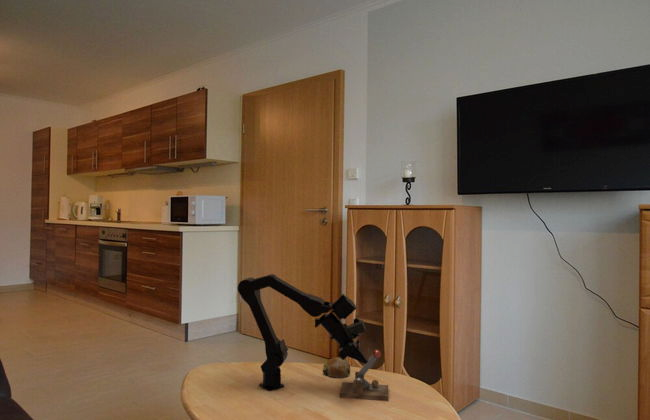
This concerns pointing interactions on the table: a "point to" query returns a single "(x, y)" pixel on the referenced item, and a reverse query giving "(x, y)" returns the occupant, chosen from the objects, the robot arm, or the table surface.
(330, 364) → the bread roll
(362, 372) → the lever
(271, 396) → the table surface
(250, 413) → the table surface
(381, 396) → the base
